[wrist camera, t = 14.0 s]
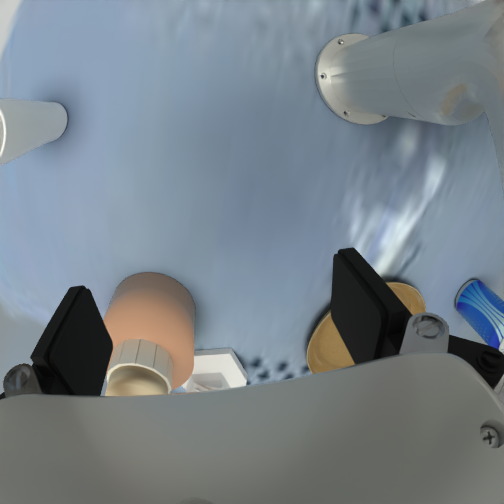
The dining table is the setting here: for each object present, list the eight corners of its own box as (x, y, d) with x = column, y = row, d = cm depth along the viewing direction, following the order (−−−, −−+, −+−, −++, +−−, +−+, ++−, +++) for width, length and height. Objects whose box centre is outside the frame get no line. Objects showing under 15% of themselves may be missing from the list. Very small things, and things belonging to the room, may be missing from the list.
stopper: (160, 341, 33) (154, 384, 27) (176, 379, 36) (173, 420, 30) (106, 345, 32) (94, 386, 27) (126, 382, 36) (119, 421, 30)
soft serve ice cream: (170, 383, 55) (148, 434, 41) (197, 327, 51) (174, 379, 37) (228, 408, 55) (218, 462, 42) (263, 357, 51) (259, 414, 38)
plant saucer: (429, 263, 48) (439, 272, 45) (403, 357, 59) (409, 367, 56) (303, 285, 46) (309, 298, 43) (300, 383, 57) (304, 396, 54)
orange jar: (185, 266, 42) (177, 340, 29) (202, 336, 48) (203, 412, 34) (101, 278, 41) (67, 348, 28) (128, 343, 47) (111, 415, 34)
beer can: (482, 288, 54) (525, 329, 39) (459, 315, 56) (499, 360, 42) (473, 270, 51) (522, 313, 36) (448, 299, 53) (493, 347, 39)
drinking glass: (64, 152, 32) (-3, 182, 19) (27, 138, 30) (-44, 162, 17) (81, 103, 30) (14, 107, 17) (42, 91, 28) (-30, 94, 15)
